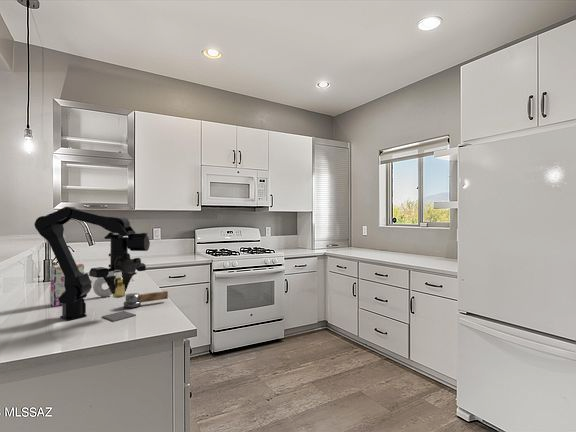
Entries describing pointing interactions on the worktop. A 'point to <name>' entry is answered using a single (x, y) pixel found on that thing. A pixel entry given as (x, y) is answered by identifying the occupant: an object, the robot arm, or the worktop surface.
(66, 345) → the worktop surface
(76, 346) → the worktop surface
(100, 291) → the donut
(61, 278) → the candy bar box
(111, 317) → the rubber mat
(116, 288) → the brass calibration weight
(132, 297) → the hammer
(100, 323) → the worktop surface
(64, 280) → the robot arm
